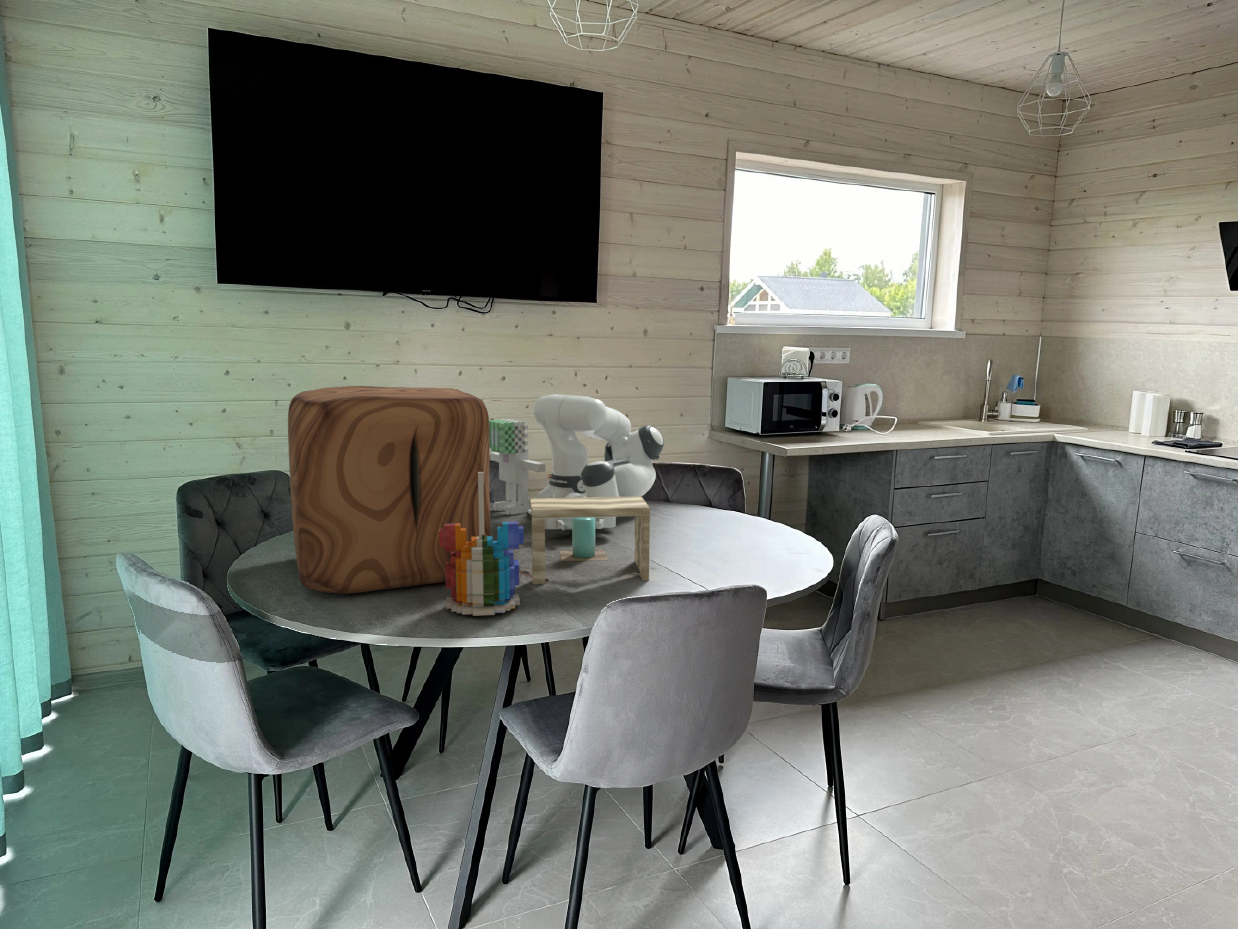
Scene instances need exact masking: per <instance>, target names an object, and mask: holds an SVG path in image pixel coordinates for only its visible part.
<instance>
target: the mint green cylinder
mask: <svg viewBox="0 0 1238 929" xmlns="http://www.w3.org/2000/svg"><path fill="white" fill-rule="evenodd" d="M571 531H572V532H571V534H572V535H571V537H572V538H571V539H572V541H571V543H572V545H571V546H572V548H571V551H572V556H573V557H575V558H592V557H594V556H595V550H596V528H595V517H573V518H572V530H571Z"/></svg>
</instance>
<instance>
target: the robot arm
mask: <svg viewBox="0 0 1238 929" xmlns="http://www.w3.org/2000/svg"><path fill="white" fill-rule="evenodd" d="M533 415H534V418H535V421H536V423H537V424H539V425H540V427H541V428H542V429H543V430H544V432H545V434H546V437H547V438H548V441H549V444H550V449H551V460H552V473H551V474H547V476H548V477H547V479H549V481H548V485H547V486H546V487H544V488H543V489H542V490H541V491H540V492H539V493H537V494H536V497H535V498H572V497H629V496H641V497H642V496H644V495H645V494H646V493H647V492H649V490H651V488H652V486H653V485H654V483H655V480H656V477H657V473H656V469H655V467H654V466H653V462H654V461H655V460H657V461H658V460H660V454H661V453H662V451H663V449H664V445H665V440H664V437H663V435H662V434H661V432H660V430H658V428H656V427H655V426H654V425H652V424H647V425H644V426H641V427H639V428H638V429H637V430H635V431H633V432H631V430H632V423H631V421H630V419H629V418H628V417H627V416H626V415H625V414H623V412H621V411H619V410H617V409H614V408H611V407H609V406H606V405H605V403H604V402H603V401H602V400H601V399H597V398H594V397H591V396H588V395H587V396H586V395H584V396H582V395H573V394H572V395H571V394H570V395H569V394H557V393H553V394H547V395H542V396H541V397H539V398H538V399H537V400H536V401H535V404H534V407H533ZM576 432H579V433H580V432H581V433H582V434H584V436H586V437H590V438H593V439H596V440H601V441H605V442H606V444H605V446H604V456H603V457H604V461H603V460H597V461H596V460H595V461H592V462H589V463H588V448H587V447H586V446H585V445H584V444H583V443H582V442H581V441H580V440H579V439H578V437H577V435H576ZM527 514H529V515H531V516H532V514H531V508H529V510H528V513H527ZM572 518H573V517H572ZM572 518H545V530H561V531H572ZM617 518H618V517H595V530H602V529H611V528H615V527H616V525H617V524H616V522H617V520H616V519H617Z"/></svg>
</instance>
